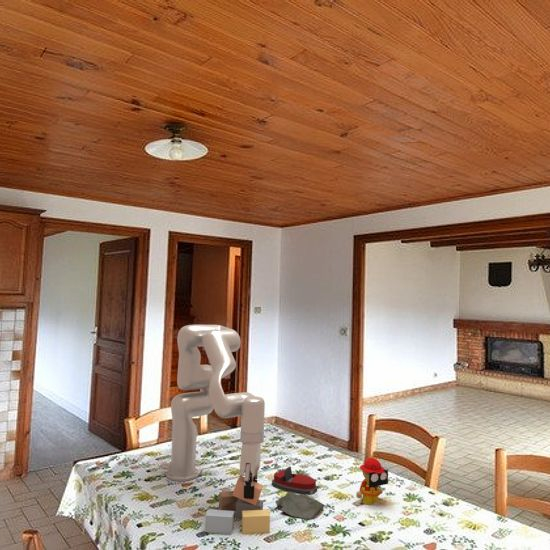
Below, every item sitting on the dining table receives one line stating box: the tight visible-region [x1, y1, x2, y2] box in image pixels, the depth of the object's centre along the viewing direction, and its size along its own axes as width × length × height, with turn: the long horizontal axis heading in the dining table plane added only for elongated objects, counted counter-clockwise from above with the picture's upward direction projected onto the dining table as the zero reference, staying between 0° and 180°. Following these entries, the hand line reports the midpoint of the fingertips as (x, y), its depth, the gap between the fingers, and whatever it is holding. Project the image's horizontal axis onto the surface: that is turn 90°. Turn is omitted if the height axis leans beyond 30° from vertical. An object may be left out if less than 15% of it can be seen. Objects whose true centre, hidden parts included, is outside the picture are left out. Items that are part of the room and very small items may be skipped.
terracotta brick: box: [233, 475, 264, 505], centre depth 142 cm, size 8×4×5 cm, turn 81°
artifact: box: [275, 491, 325, 520], centre depth 149 cm, size 14×4×15 cm
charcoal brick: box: [234, 498, 264, 521], centre depth 142 cm, size 8×4×5 cm, turn 81°
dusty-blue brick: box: [204, 509, 235, 535], centre depth 133 cm, size 8×4×5 cm, turn 86°
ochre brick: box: [241, 509, 271, 535], centre depth 134 cm, size 8×4×5 cm, turn 99°
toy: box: [355, 457, 389, 505], centre depth 156 cm, size 11×9×15 cm
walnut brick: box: [218, 490, 239, 512], centre depth 148 cm, size 8×4×5 cm, turn 107°
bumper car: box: [269, 454, 318, 496], centre depth 168 cm, size 10×20×10 cm, turn 61°
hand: (250, 494), depth 142 cm, fingers closed on terracotta brick, 4 cm apart
